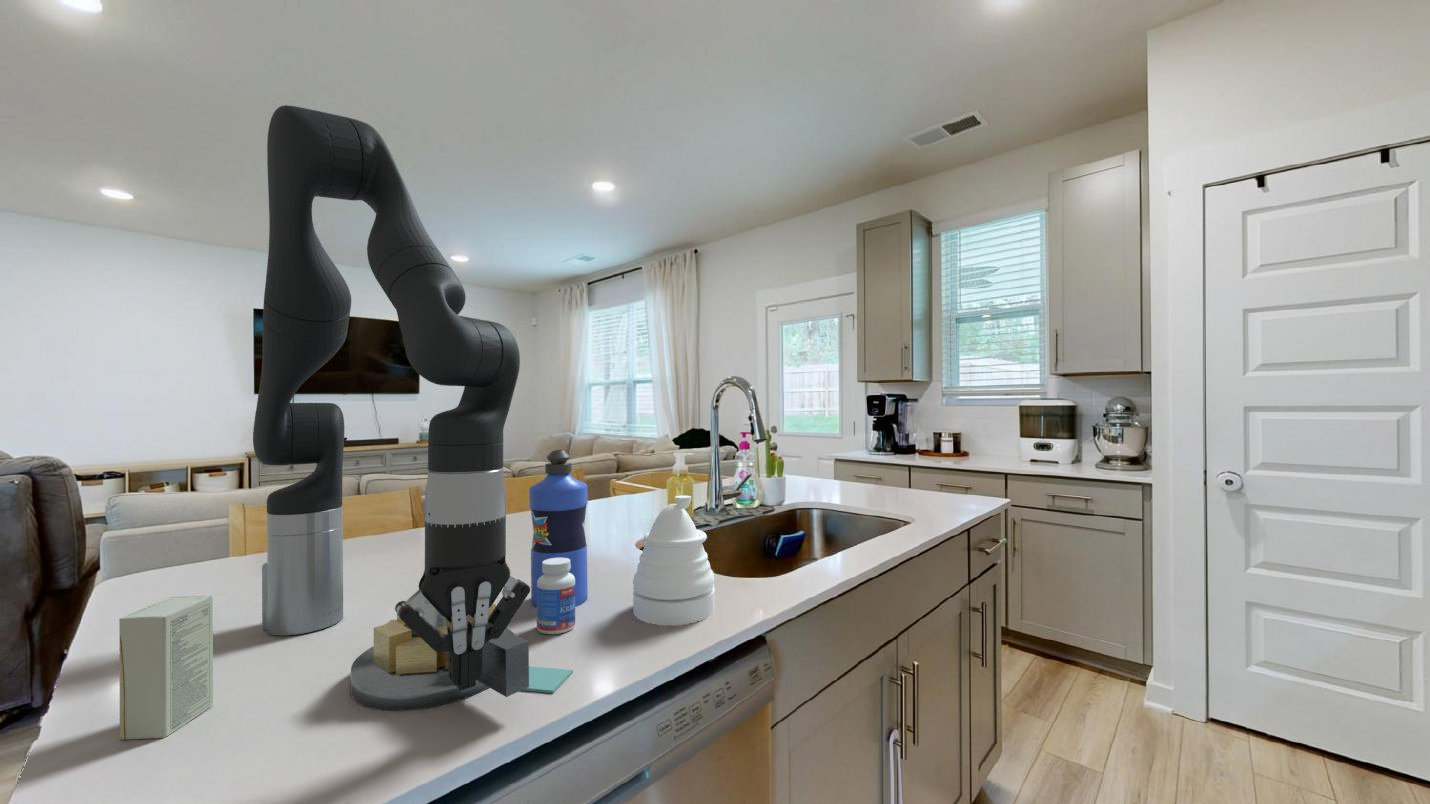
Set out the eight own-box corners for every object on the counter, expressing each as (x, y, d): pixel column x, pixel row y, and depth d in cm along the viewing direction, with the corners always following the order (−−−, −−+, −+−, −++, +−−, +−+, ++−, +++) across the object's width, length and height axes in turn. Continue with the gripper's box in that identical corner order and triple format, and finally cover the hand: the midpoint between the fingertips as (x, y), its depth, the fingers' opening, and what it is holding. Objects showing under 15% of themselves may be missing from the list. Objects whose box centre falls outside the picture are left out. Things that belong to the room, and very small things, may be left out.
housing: (310, 702, 62) (310, 620, 62) (425, 636, 80) (424, 572, 80) (456, 718, 59) (455, 631, 59) (542, 645, 76) (541, 578, 76)
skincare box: (172, 708, 61) (171, 595, 61) (216, 706, 62) (215, 594, 62) (116, 742, 55) (115, 617, 55) (165, 739, 55) (164, 615, 56)
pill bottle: (565, 637, 79) (564, 567, 79) (529, 634, 80) (529, 565, 80) (581, 622, 84) (581, 556, 85) (548, 619, 86) (548, 555, 86)
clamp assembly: (359, 652, 68) (359, 612, 68) (462, 620, 78) (462, 585, 78) (456, 719, 53) (456, 668, 53) (569, 669, 63) (568, 626, 63)
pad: (504, 688, 65) (504, 686, 65) (527, 668, 70) (527, 666, 70) (553, 693, 63) (553, 690, 63) (572, 672, 68) (572, 670, 68)
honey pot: (730, 604, 91) (728, 493, 91) (683, 632, 80) (682, 505, 80) (666, 591, 98) (665, 487, 98) (616, 615, 87) (614, 498, 87)
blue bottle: (546, 615, 87) (544, 453, 88) (520, 600, 94) (519, 450, 95) (599, 600, 94) (597, 449, 94) (571, 587, 101) (570, 447, 101)
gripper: (399, 528, 50) (398, 724, 50) (543, 511, 58) (543, 680, 58) (385, 516, 56) (384, 691, 56) (518, 502, 64) (518, 655, 64)
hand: (465, 685), depth 57 cm, fingers closed
